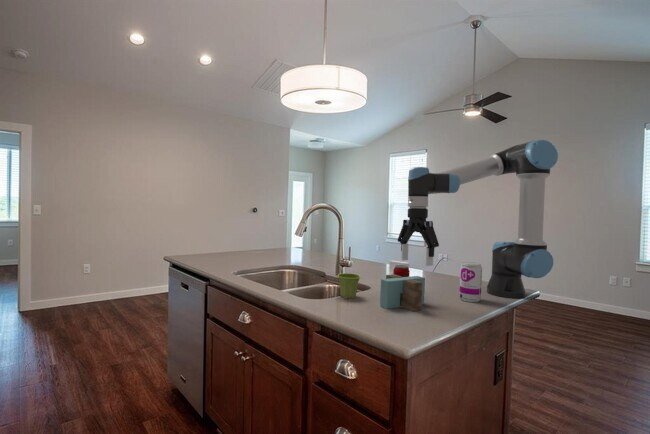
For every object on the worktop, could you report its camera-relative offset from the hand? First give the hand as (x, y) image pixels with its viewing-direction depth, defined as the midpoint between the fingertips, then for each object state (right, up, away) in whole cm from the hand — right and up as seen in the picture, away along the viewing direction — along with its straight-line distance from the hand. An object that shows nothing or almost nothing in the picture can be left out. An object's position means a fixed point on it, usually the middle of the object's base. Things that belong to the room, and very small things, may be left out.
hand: (416, 262), depth 134 cm
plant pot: (-26, -15, +8) cm, 31 cm away
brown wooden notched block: (-6, -16, -2) cm, 17 cm away
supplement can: (+24, -16, +8) cm, 30 cm away
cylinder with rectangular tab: (-2, -15, +26) cm, 30 cm away
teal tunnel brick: (-6, -16, -2) cm, 17 cm away
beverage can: (-3, -16, +14) cm, 21 cm away
